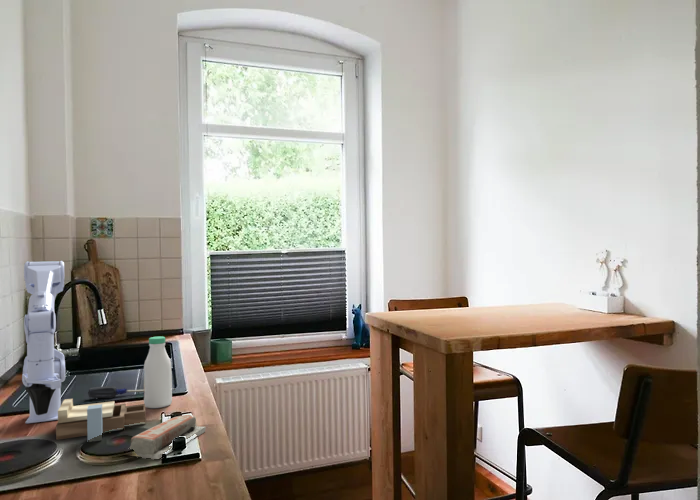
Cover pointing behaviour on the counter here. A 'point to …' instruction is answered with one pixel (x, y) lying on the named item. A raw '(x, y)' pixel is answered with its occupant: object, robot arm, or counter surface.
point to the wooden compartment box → (103, 421)
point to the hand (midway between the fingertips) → (41, 413)
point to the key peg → (94, 421)
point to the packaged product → (164, 436)
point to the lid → (81, 411)
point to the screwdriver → (108, 392)
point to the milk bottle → (157, 375)
